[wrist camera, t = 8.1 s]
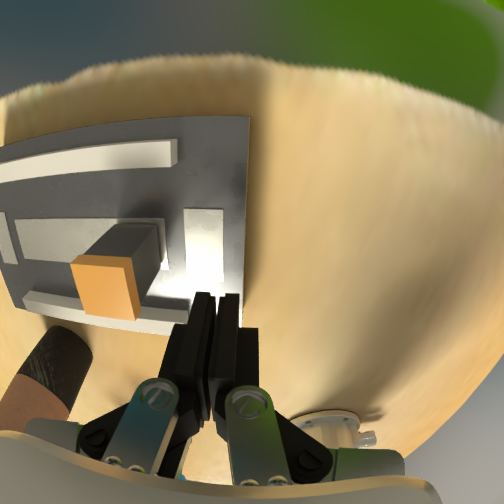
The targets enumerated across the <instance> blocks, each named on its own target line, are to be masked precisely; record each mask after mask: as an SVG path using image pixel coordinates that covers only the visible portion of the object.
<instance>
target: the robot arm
mask: <svg viewBox="0 0 504 504" xmlns="http://www.w3.org/2000/svg"><path fill="white" fill-rule="evenodd" d="M239 303H240V293H225V297H224V296H220V298H219V304H218V310H217V313H216V296H211V293H210V292H200V291H196V293H195V296H194V299H193V303H192V307H191V310H190V314H189V318H188V321H187V324H180V323H175V324H174V326H173V328H172V331H171V335H170V338H169V341H168V344H167V348H166V351H165V354H164V358H163V361H162V364H161V368H160V371H159V375H158V378H151V379H148V380H145V381H144V382H142V383H141V384H140V385H139V386H138V388H137V389H136V391H135V393H134V395H133V397H132V399H131V401H130V402H129V403H127V404H125V405H123V406H121V407H119V408H117V409H115V410H113V411H111V412H109V413H107V414H105V415H103V416H101V417H99V418H97V419H95V420H93V421H90V422H88V423H87V424H85V425H80V424H79V422H70V421H61V420H53V419H46V418H40V417H38V418H33V419H30V420H29V421H28V422H27V423H26V426H25V429H24V433H21V432H17V431H10V430H2V431H0V504H442V502H441V499H440V497H439V494H438V493H437V491H436V489H435V488H434V487H433V486H432V485H431V484H430V483H429V482H427V481H425V480H423V479H419V478H415V477H409V476H405V463H404V459H403V457H402V456H401V454H400V453H398V452H397V451H395V450H390V449H358V448H359V447H369V446H374V445H376V441H377V439H376V436H375V432H374V431H367V432H363V433H360V432H358V430H359V428H360V421H359V417H358V416H357V415H356V414H354V413H352V412H348V411H342V410H329V411H320V412H315V413H310V414H306V415H303V416H300V417H298V418H295V419H293V420H291V421H289V420H288V419H286V418H285V417H284V416H282V415H281V414H280V413H278V412H277V411H276V410H274V406H273V402H272V399H271V397H270V395H269V394H268V393H267V392H266V391H265V390H263V389H262V388H260V387H259V341H258V328H243V327H239ZM211 408H212V415H213V421H216V428H217V434H218V435H219V436H220V437H221V438H223V439H224V440H225V441H226V442H227V445H228V453H229V461H230V469H231V477H232V484H233V485H219V484H207V483H198V482H190V481H183V480H178V479H179V476H180V473H181V470H182V467H183V464H184V461H185V458H186V455H187V452H188V449H189V446H190V443H191V438H192V436H193V435H195V434H196V433H198V432H199V429H200V427H201V428H203V426H204V421H209V419H210V411H211Z"/></svg>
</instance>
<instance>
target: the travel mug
mask: <svg viewBox="0 0 504 504" xmlns="http://www.w3.org/2000/svg"><path fill="white" fill-rule="evenodd" d="M91 363H92V353H91V351H90V349H89V347H88V346H87V345H86V344H85V342H84V341H83V340H82V339H81V338H80V337H78V336H77V335H76V334H75V333H73V332H72V331H70V330H68V329H66V328H63V327H60V326H53V327H51V328H50V329H49V330H48V331H47V332H46V333H45V335H44V336H43V337H42V338H41V340H40V341H39V342H38V344H37V345H36V346H35V348H34V349H33V351H32V352H31V353H30V355H29V356H28V357H27V359H26V360H25V362H24V363H23V365H22V366H21V367H20V369H19V370H18V372H17V373H16V375H15V376H14V378H13V380H12V382H11V383H10V385H9V387H8V388H7V390H6V392H5V394H4V396H3V397H2V399H1V401H0V431H2V430H10V431H17V432H21V433H24V429H25V426H26V423H27V422H28V421H29V420H30V419H33V418H38V417H40V418H46V419H53V420H61V421H67V419H68V417H69V414H70V412H71V410H72V407H73V405H74V403H75V400H76V398H77V395H78V393H79V391H80V388H81V386H82V384H83V381H84V379H85V377H86V375H87V372H88V370H89V368H90V365H91Z"/></svg>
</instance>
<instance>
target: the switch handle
mask: <svg viewBox="0 0 504 504" xmlns="http://www.w3.org/2000/svg"><path fill="white" fill-rule="evenodd" d="M70 266H71V270H72V273H73V277H74V280H75V283H76V287H77V290H78V293H79V296H80V299H81V302H82V305H83V308H84V311H85V314H88V315H95V316H101V317H107V318H114V319H121V320H129V321H136V319H137V317H138V315H139V313H140V311H141V304H142V302H143V300H144V298H145V296H146V294H147V292H148V290H149V289H150V287H151V285H152V283H153V281H154V279H155V277H156V276H157V274H158V272H159V270H160V268H161V262H160V253H159V244H158V235H157V225H140V224H114V225H113V226H112V227H111V228H110V229H109V230H108V231H107V232H105V233H104V234H103V235H102V236H101V237H100V238H99V239H98V240H97V241H96V242H95V243H94V244H93V245H92V246H91V247H90V248H89V249H88V250H87V251H86V252H85V253H84V254H83V255H82V254H79V255H78V256H77V257H76V258H75V259H74V260H73V261H72V262H71V263H70Z"/></svg>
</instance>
